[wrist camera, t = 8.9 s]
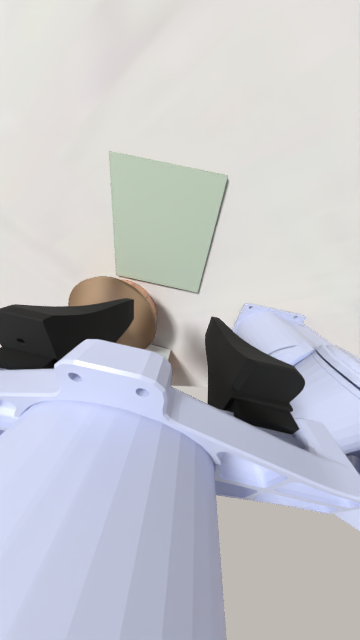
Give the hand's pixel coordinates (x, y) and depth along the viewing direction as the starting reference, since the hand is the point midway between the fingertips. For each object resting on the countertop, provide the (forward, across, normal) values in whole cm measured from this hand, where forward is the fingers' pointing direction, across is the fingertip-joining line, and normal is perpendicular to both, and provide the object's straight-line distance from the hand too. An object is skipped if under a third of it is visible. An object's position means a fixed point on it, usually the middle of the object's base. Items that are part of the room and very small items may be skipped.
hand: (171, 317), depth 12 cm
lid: (+7, +9, +6) cm, 13 cm away
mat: (+10, +4, -6) cm, 13 cm away
